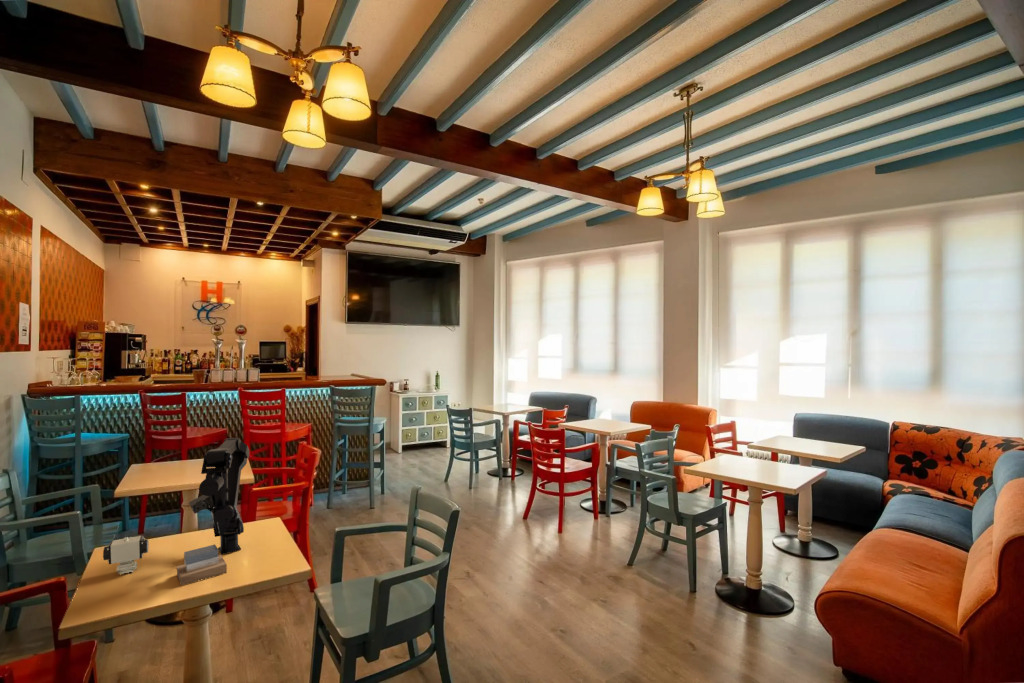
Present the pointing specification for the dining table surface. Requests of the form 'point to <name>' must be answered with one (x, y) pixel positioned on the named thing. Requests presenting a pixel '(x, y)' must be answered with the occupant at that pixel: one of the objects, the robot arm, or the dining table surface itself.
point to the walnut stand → (201, 572)
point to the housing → (201, 558)
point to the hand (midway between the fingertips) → (219, 530)
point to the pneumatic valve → (126, 552)
